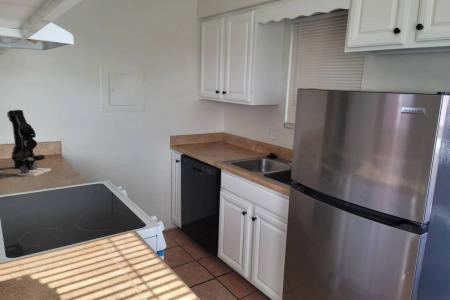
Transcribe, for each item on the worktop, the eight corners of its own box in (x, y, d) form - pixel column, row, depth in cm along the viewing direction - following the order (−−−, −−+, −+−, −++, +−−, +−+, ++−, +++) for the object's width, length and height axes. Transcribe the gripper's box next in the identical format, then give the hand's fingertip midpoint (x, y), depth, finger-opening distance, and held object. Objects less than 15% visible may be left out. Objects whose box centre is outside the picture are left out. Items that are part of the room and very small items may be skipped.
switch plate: (17, 175, 209) (17, 173, 209) (34, 169, 225) (34, 167, 225) (34, 176, 208) (34, 174, 207) (51, 170, 223) (51, 168, 223)
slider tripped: (20, 172, 211) (20, 166, 210) (25, 170, 215) (24, 164, 214) (25, 172, 210) (24, 166, 210) (29, 171, 214) (28, 165, 214)
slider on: (29, 169, 219) (28, 163, 218) (33, 168, 222) (32, 162, 222) (33, 169, 218) (32, 163, 217) (37, 168, 222) (36, 162, 221)
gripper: (4, 147, 202) (6, 172, 205) (32, 149, 200) (34, 174, 203) (17, 145, 213) (20, 168, 216) (44, 146, 211) (46, 169, 214)
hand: (29, 170), depth 212 cm, fingers closed
